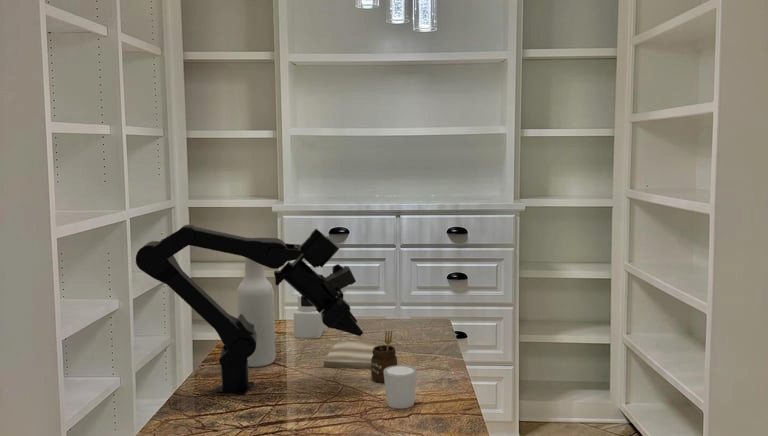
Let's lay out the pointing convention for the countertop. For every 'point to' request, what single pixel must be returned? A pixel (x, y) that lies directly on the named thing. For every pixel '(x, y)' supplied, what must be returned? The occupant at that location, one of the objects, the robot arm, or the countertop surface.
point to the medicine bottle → (307, 320)
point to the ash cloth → (351, 354)
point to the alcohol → (258, 312)
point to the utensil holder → (382, 358)
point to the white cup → (400, 386)
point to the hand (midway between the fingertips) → (358, 328)
